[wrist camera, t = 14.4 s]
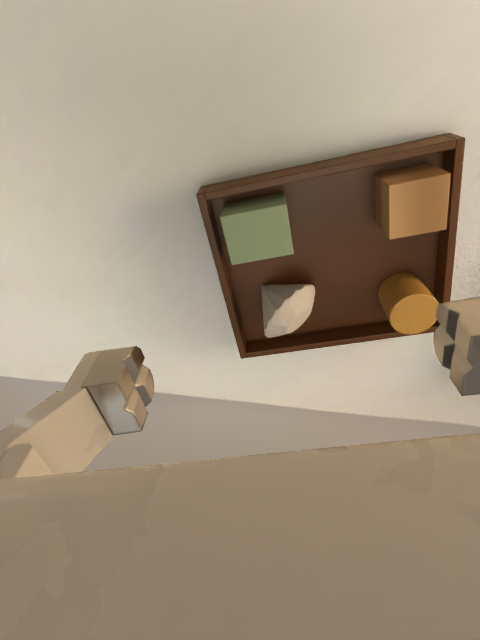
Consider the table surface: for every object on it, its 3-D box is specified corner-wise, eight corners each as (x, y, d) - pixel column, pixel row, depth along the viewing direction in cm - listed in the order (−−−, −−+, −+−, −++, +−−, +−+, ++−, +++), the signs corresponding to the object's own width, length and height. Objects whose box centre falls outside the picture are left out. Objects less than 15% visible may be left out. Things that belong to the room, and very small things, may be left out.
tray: (242, 343, 39) (241, 358, 37) (200, 186, 31) (196, 194, 29) (436, 315, 36) (447, 330, 34) (450, 132, 28) (465, 137, 26)
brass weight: (377, 313, 36) (389, 337, 32) (376, 276, 34) (389, 298, 30) (421, 306, 35) (438, 331, 32) (423, 268, 33) (442, 290, 30)
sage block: (234, 248, 33) (231, 265, 30) (223, 203, 31) (219, 217, 28) (291, 238, 32) (293, 254, 29) (284, 191, 30) (286, 203, 27)
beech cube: (375, 222, 31) (389, 240, 28) (374, 172, 29) (388, 185, 26) (426, 213, 30) (446, 230, 27) (429, 161, 28) (451, 172, 25)
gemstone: (251, 265, 31) (294, 305, 29) (294, 252, 35) (334, 286, 33) (227, 317, 35) (264, 355, 33) (269, 300, 39) (303, 332, 37)
